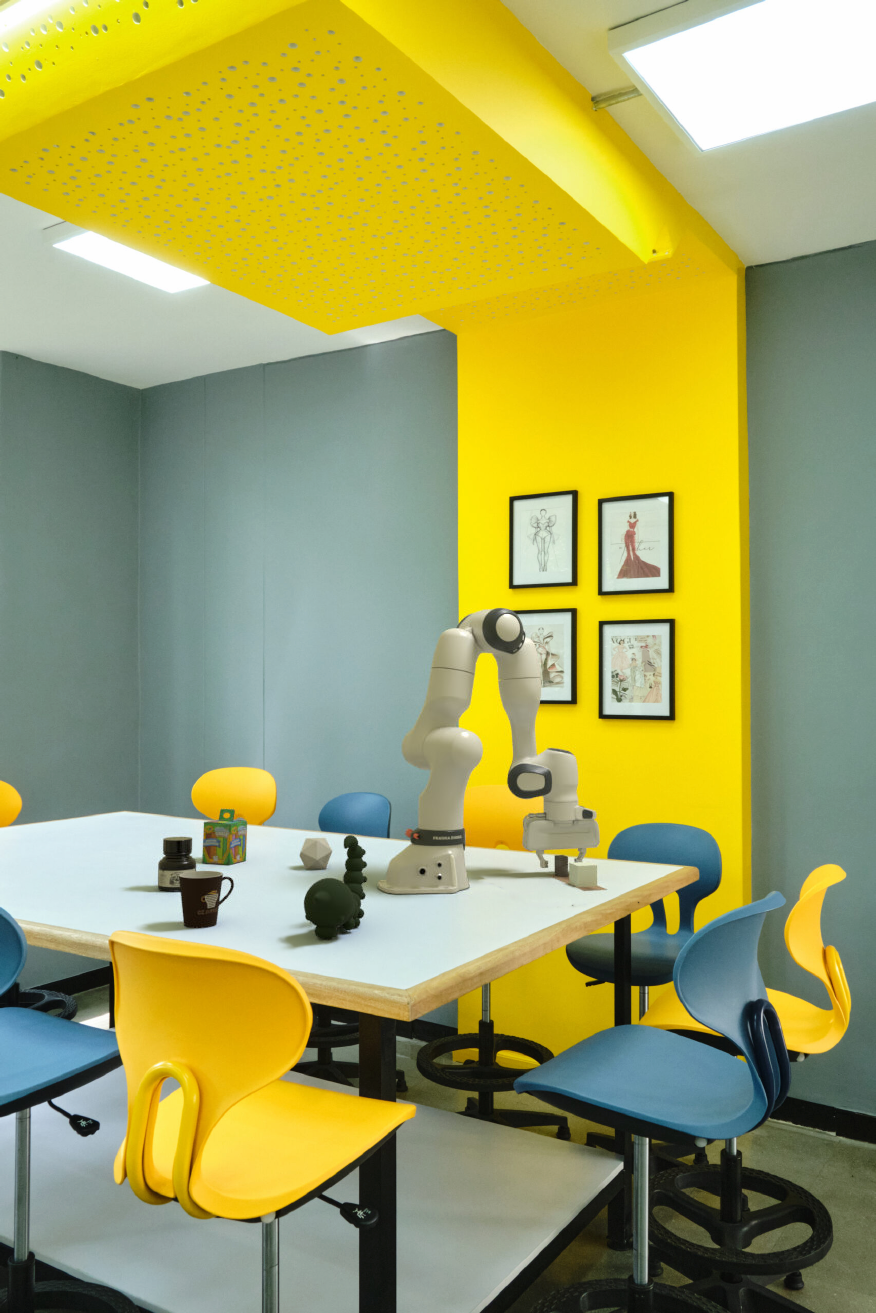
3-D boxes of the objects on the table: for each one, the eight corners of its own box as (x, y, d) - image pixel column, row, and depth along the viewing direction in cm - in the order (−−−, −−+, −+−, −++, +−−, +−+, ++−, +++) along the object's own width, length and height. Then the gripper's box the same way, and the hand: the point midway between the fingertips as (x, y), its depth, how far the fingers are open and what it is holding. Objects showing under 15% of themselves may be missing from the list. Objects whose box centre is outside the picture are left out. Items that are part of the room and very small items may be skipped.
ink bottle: (154, 892, 228) (155, 841, 229) (157, 886, 237) (158, 836, 238) (197, 891, 230) (197, 840, 231) (198, 884, 239) (199, 835, 240)
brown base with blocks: (584, 895, 227) (584, 869, 227) (547, 879, 248) (547, 855, 248) (607, 893, 229) (607, 867, 229) (568, 877, 250) (568, 854, 250)
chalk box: (201, 863, 271) (202, 810, 272) (219, 858, 280) (220, 807, 281) (230, 865, 268) (230, 811, 269) (247, 860, 277) (248, 808, 278)
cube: (577, 887, 231) (577, 865, 232) (569, 883, 236) (569, 862, 236) (597, 886, 233) (597, 865, 233) (588, 882, 238) (588, 861, 238)
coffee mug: (181, 931, 190) (182, 879, 190) (175, 922, 197) (175, 872, 198) (241, 925, 194) (242, 875, 195) (232, 917, 202) (233, 868, 203)
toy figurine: (333, 925, 202) (288, 942, 178) (337, 833, 205) (293, 837, 181) (377, 928, 200) (337, 945, 176) (380, 834, 203) (341, 839, 179)
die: (321, 874, 258) (340, 842, 263) (292, 857, 259) (312, 825, 263) (319, 880, 266) (337, 849, 270) (291, 864, 266) (310, 833, 271)
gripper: (527, 814, 242) (528, 870, 241) (602, 811, 248) (602, 866, 247) (518, 812, 248) (518, 866, 247) (591, 809, 254) (591, 862, 253)
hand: (561, 866), depth 248 cm, fingers open, 8 cm apart
